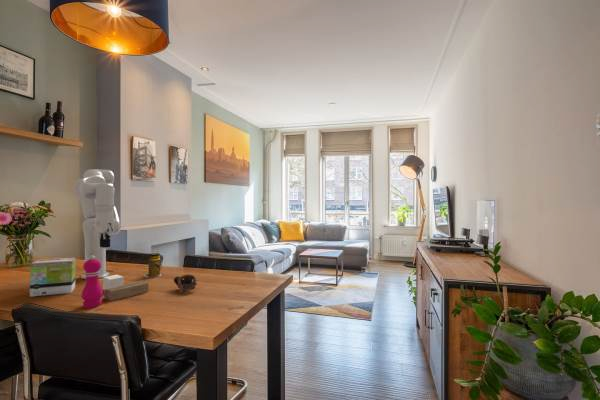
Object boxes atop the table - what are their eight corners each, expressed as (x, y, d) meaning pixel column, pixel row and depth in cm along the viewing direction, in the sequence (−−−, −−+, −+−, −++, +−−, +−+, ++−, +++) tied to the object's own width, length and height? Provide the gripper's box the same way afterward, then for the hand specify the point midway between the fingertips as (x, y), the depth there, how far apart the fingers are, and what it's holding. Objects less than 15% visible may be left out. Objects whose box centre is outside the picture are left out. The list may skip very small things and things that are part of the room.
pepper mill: (88, 302, 129) (88, 253, 129) (106, 302, 130) (106, 253, 129) (77, 308, 122) (77, 257, 121) (96, 308, 122) (96, 257, 122)
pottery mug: (201, 288, 152) (201, 275, 147) (190, 302, 144) (189, 289, 139) (179, 280, 154) (178, 268, 150) (167, 294, 146) (165, 281, 142)
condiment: (162, 275, 173) (162, 254, 173) (145, 277, 168) (145, 255, 168) (159, 273, 179) (159, 252, 179) (143, 275, 174) (143, 253, 174)
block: (103, 290, 146) (103, 277, 146) (116, 287, 151) (116, 274, 151) (110, 292, 142) (110, 279, 142) (123, 289, 147) (123, 276, 147)
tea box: (29, 297, 134) (29, 263, 134) (35, 291, 143) (35, 259, 143) (72, 293, 141) (72, 260, 141) (76, 287, 150) (75, 256, 150)
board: (104, 298, 135) (104, 288, 134) (141, 289, 147) (141, 280, 147) (110, 300, 131) (110, 291, 131) (148, 291, 144) (148, 282, 144)
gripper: (89, 208, 153) (89, 246, 154) (103, 209, 144) (103, 249, 144) (106, 208, 159) (106, 244, 160) (120, 209, 150) (121, 247, 150)
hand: (105, 246), depth 152 cm, fingers closed
